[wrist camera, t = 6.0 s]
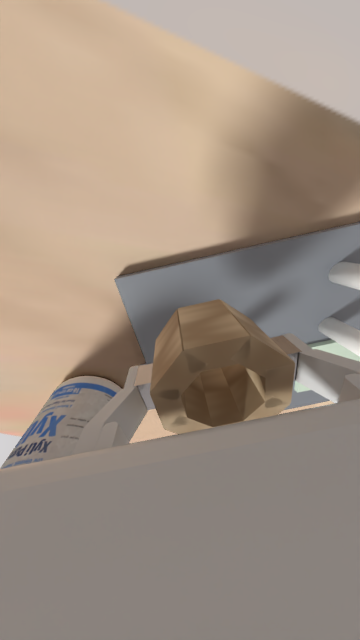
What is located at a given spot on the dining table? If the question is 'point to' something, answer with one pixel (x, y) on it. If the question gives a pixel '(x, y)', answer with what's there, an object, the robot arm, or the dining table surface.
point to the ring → (217, 370)
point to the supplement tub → (62, 420)
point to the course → (261, 291)
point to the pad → (328, 347)
